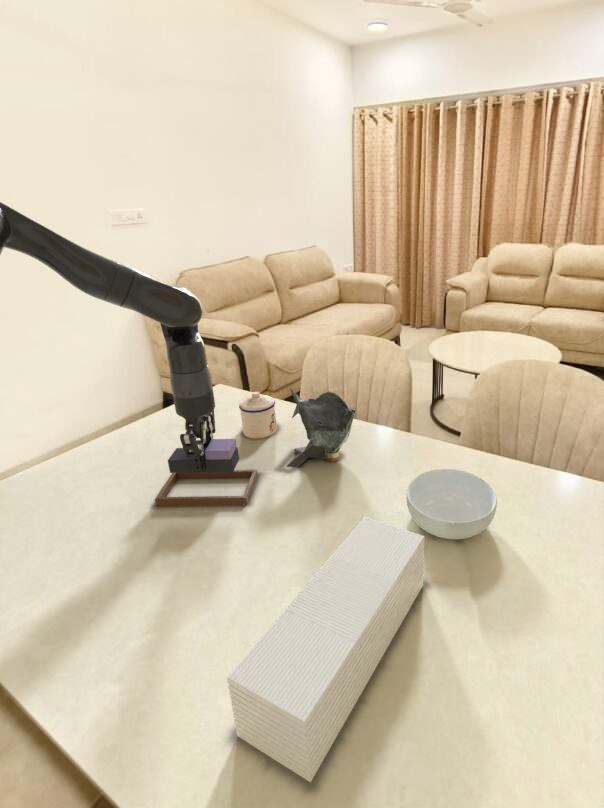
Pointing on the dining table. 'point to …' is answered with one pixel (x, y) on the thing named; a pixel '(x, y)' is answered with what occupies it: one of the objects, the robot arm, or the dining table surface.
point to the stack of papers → (326, 646)
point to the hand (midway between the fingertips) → (204, 463)
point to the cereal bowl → (451, 503)
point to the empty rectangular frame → (207, 500)
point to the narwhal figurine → (322, 426)
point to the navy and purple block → (208, 458)
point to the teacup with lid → (258, 416)
